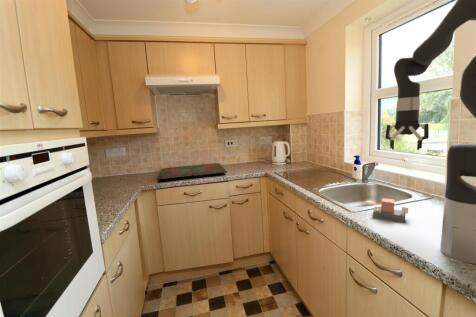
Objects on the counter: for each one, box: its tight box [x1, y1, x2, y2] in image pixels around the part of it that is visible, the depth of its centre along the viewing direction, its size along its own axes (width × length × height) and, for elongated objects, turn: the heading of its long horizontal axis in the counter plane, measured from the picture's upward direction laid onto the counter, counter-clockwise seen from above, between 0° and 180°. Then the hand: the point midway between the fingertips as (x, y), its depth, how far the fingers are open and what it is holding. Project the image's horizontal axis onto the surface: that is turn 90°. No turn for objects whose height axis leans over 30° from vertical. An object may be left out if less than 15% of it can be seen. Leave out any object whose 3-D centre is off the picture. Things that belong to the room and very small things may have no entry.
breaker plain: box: [401, 205, 409, 215], centre depth 95 cm, size 2×2×2 cm
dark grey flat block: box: [372, 206, 406, 223], centre depth 98 cm, size 6×11×3 cm, turn 55°
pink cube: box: [380, 197, 395, 213], centre depth 98 cm, size 4×4×4 cm
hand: (405, 149), depth 97 cm, fingers open, 8 cm apart
